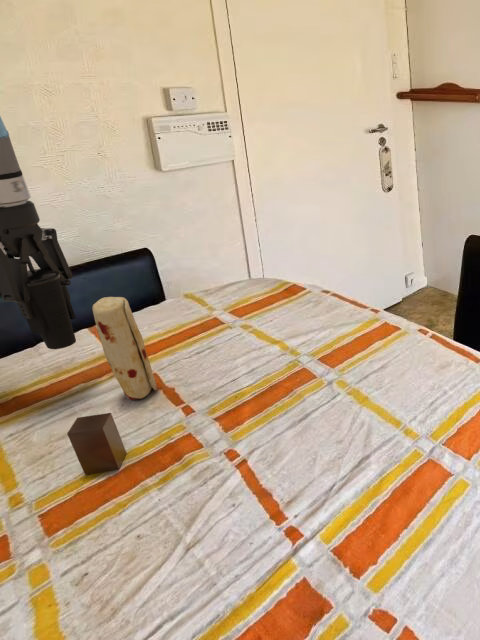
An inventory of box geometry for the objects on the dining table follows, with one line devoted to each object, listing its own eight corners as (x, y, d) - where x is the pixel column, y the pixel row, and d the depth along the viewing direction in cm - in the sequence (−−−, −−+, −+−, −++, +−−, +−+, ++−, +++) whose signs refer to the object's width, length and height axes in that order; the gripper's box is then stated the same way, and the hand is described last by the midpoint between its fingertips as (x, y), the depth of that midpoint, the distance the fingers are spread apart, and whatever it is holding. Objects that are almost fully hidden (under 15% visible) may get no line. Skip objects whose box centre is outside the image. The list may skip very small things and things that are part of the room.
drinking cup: (86, 345, 120) (46, 244, 110) (38, 356, 117) (-7, 252, 107) (83, 332, 126) (46, 234, 116) (38, 341, 122) (-5, 241, 112)
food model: (125, 386, 127) (91, 293, 118) (161, 379, 130) (130, 288, 120) (119, 408, 119) (82, 310, 110) (158, 400, 122) (125, 304, 112)
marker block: (84, 475, 100) (66, 433, 97) (94, 458, 105) (76, 417, 101) (119, 469, 102) (102, 428, 98) (126, 452, 106) (111, 412, 102)
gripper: (-23, 216, 99) (32, 347, 110) (67, 191, 116) (107, 307, 127) (-65, 215, 100) (-6, 345, 111) (31, 191, 117) (74, 306, 128)
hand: (54, 325), depth 119 cm, fingers closed on drinking cup, 6 cm apart
